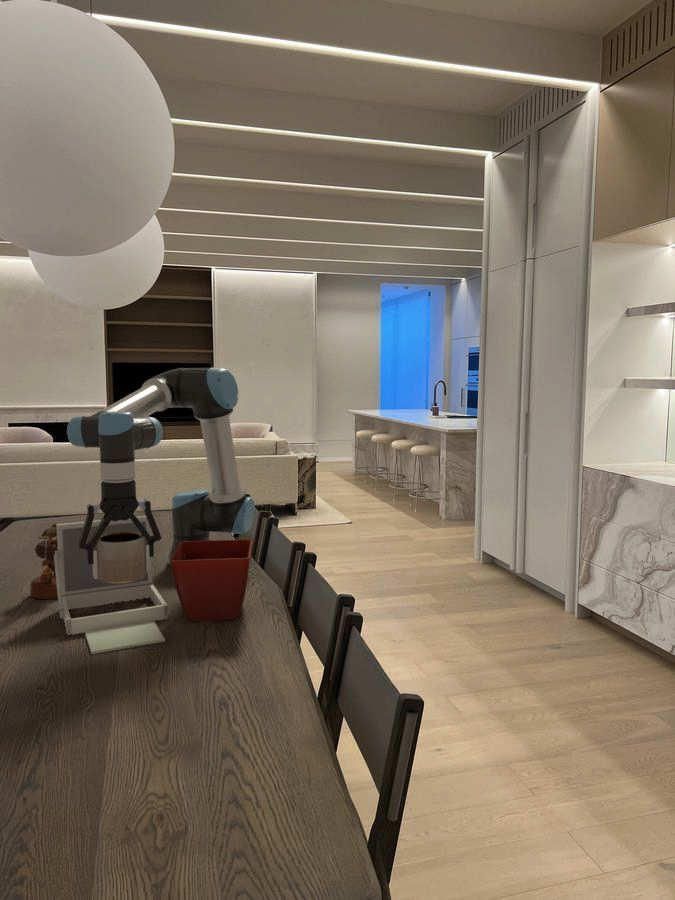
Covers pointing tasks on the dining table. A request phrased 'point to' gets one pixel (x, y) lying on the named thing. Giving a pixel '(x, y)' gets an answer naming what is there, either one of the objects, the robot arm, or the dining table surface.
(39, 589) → the music box
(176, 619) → the dining table surface
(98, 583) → the case
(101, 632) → the mat
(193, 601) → the plant pot
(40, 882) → the dining table surface
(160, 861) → the dining table surface
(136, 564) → the planter
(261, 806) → the dining table surface
